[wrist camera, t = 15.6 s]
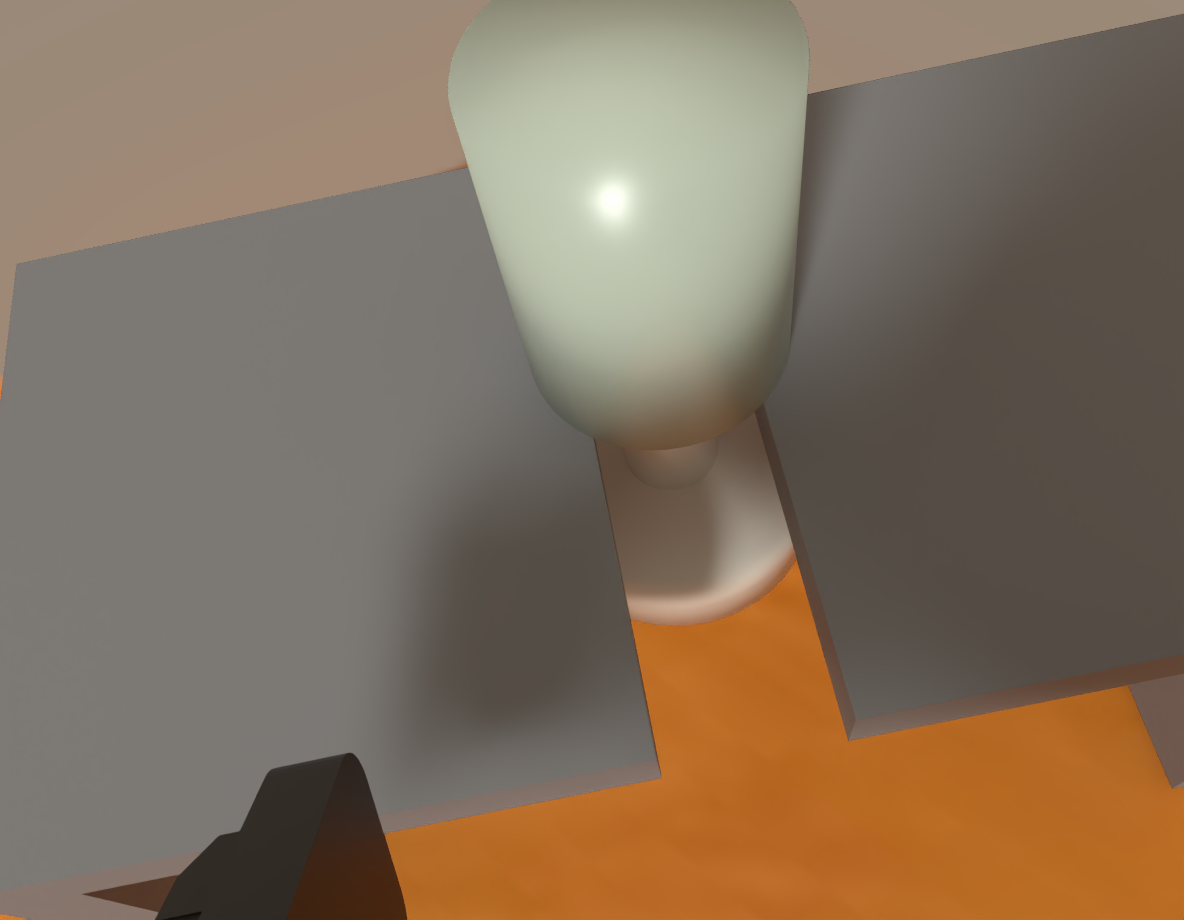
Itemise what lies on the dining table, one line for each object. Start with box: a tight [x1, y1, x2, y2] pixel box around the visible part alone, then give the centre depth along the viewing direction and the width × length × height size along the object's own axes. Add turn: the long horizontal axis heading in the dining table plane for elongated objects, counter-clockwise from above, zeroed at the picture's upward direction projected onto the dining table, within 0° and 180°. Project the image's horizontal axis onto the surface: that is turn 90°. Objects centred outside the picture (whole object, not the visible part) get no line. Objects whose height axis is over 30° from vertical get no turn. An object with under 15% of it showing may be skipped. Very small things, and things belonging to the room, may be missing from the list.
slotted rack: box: [0, 14, 1184, 920], centre depth 20 cm, size 20×10×11 cm, turn 100°
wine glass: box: [448, 0, 810, 626], centre depth 16 cm, size 5×5×10 cm
